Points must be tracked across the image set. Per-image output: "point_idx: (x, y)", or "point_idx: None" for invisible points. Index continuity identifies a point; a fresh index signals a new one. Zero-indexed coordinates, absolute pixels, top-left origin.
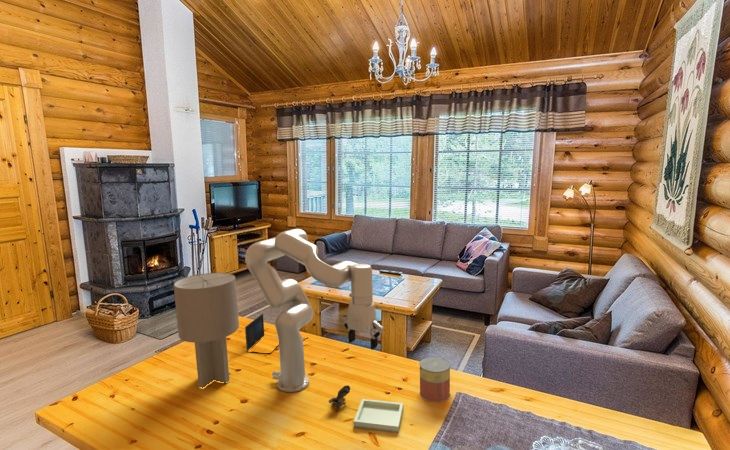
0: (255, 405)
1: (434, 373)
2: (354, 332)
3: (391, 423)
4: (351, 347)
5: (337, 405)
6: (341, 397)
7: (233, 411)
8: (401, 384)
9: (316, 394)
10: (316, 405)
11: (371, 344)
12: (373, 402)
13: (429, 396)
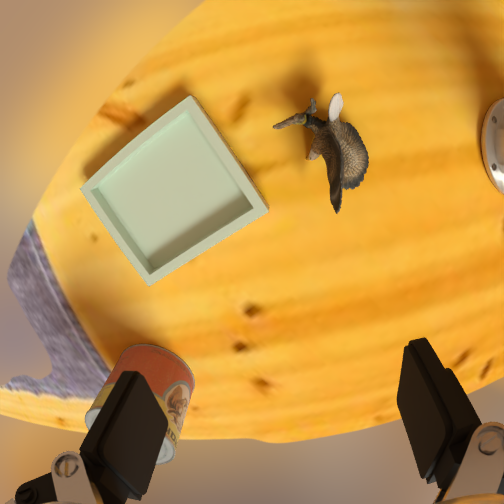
0: (492, 14)
1: (94, 405)
2: (419, 459)
3: (119, 195)
4: (476, 385)
5: (305, 111)
6: (327, 152)
7: None
8: (251, 363)
9: (435, 144)
10: (388, 95)
11: (110, 404)
12: (224, 226)
13: (133, 353)
